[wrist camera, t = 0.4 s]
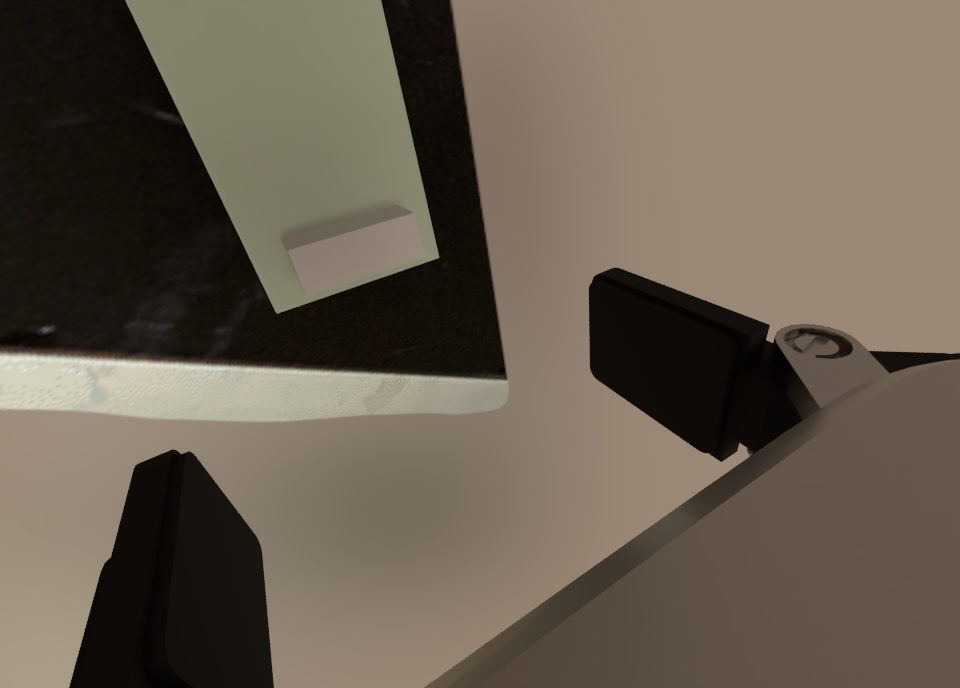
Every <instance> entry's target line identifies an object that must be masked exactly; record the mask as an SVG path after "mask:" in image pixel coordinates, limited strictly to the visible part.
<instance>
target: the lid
mask: <svg viewBox="0 0 960 688" xmlns="http://www.w3.org/2000/svg"><path fill="white" fill-rule="evenodd" d="M125 1H126V3H127V5H128V7H129V9H130V11H131V13H132V15H133V17H134V19H135V21H136V24H137V26H138V28H139V30H140V32H141V34H142V36H143V38H144V40H145V42H146V44H147V46H148V48H149V50H150V53H151V55H152V57H153V59H154V61H155V63H156V65H157V67H158V69H159V71H160V73H161V75H162V77H163V79H164V82H165V84H166V86H167V88H168V90H169V92H170V94H171V96H172V98H173V100H174V102H175V104H176V106H177V108H178V111H179V113H180V115H181V117H182V119H183V121H184V123H185V125H186V127H187V129H188V131H189V133H190V135H191V137H192V140H193V142H194V144H195V146H196V148H197V150H198V152H199V154H200V156H201V158H202V160H203V162H204V164H205V167H206V169H207V171H208V173H209V175H210V177H211V179H212V181H213V183H214V185H215V187H216V189H217V191H218V193H219V196H220V198H221V200H222V202H223V204H224V206H225V208H226V210H227V212H228V214H229V216H230V218H231V220H232V222H233V225H234V227H235V229H236V231H237V233H238V235H239V237H240V239H241V241H242V243H243V245H244V247H245V249H246V251H247V254H248V256H249V258H250V260H251V262H252V264H253V266H254V268H255V270H256V272H257V274H258V276H259V278H260V280H261V283H262V285H263V287H264V289H265V291H266V293H267V295H268V297H269V299H270V301H271V303H272V305H273V307H274V309H275V312H276V314H277V313H280V312H283V311H286V310H289V309H292V308H295V307H298V306H301V305H304V304H306V303H309V302H312V301H315V300H318V299H321V298H324V297H327V296H330V295H333V294H335V293H338V292H341V291H344V290H347V289H350V288H353V287H356V286H359V285H362V284H364V283H367V282H370V281H373V280H376V279H379V278H382V277H385V276H388V275H391V274H394V273H396V272H399V271H402V270H405V269H408V268H411V267H414V266H417V265H420V264H423V263H425V262H428V261H431V260H434V259H437V258H439V254H438V250H437V246H436V241H435V237H434V232H433V228H432V224H431V219H430V215H429V210H428V206H427V201H426V197H425V193H424V188H423V184H422V179H421V175H420V171H419V166H418V162H417V157H416V153H415V149H414V144H413V140H412V135H411V131H410V126H409V122H408V118H407V113H406V109H405V104H404V100H403V96H402V91H401V87H400V82H399V78H398V73H397V69H396V65H395V60H394V56H393V51H392V47H391V43H390V38H389V34H388V29H387V25H386V20H385V16H384V12H383V7H382V3H381V0H125Z"/></svg>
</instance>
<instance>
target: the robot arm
mask: <svg viewBox="0 0 960 688" xmlns="http://www.w3.org/2000/svg"><path fill="white" fill-rule="evenodd" d="M589 322H590V323H589V327H590V328H589V331H590V369H591V372H592V374H593V376H594V377H595V378H596V379H597V380H598V381H600V382H602V383H603V384H604V385H606V386H607V387H609V388H610V389H611V390H613V391H614V392H616V393H617V394H619V395H620V396H621V397H623V398H624V399H626V400H627V401H629V402H630V403H631V404H633V405H634V406H636V407H637V408H639V409H640V410H641V411H643V412H644V413H646V414H647V415H649V416H650V417H651V418H653V419H654V420H656V421H657V422H659V423H660V424H662V425H663V426H664V427H666V428H667V429H669V430H670V431H672V432H673V433H674V434H676V435H677V436H679V437H680V438H682V439H683V440H684V441H686V442H687V443H689V444H690V445H692V446H693V447H694V448H696V449H697V450H699V451H701V452H703V453H709V454H710V455H712V456H713V457H715V458H716V459H718V460H719V461H721V462H722V461H724V460H725V459H727V458H728V457H729V456H731V455H732V454H734V453H735V452H737V449H738V446H739V443H741V444H742V445H744V446H746V447H747V451H748V454H749V456H750V457H749V458H747V459H746V460H745V461H743V462H742V463H740V464H739V465H737V466H736V467H735V468H734V469H732V470H730V471H729V472H728V473H726V474H725V475H723V476H722V477H720V478H719V479H717V480H716V481H715V482H713V483H712V484H710V485H709V486H707V487H706V488H704V489H703V490H702V491H700V492H699V493H698V494H696V495H695V496H693V497H692V498H690V499H689V500H688V501H686V502H685V503H683V504H682V505H680V506H679V507H678V508H676V509H675V510H673V511H672V512H670V513H669V514H668V515H666V516H665V517H663V518H662V519H660V520H659V521H658V522H657V523H655V524H654V525H652V526H651V527H649V528H648V529H646V530H645V531H643V532H642V533H641V534H639V535H638V536H637V537H635V538H634V539H632V540H631V541H629V542H628V543H627V544H625V545H624V546H622V547H621V548H620V549H618V550H617V551H615V552H614V553H613V554H611V555H610V556H608V557H607V558H605V559H604V560H603V561H601V562H600V563H598V564H597V565H595V566H594V567H593V568H591V569H590V570H588V571H587V572H586V573H584V574H583V575H581V576H580V577H578V578H577V579H576V580H574V581H573V582H572V583H570V584H569V585H567V586H566V587H564V588H563V589H562V590H560V591H559V592H557V593H556V594H555V595H553V596H552V597H550V598H549V599H548V600H546V601H545V602H543V603H542V604H541V605H539V606H538V607H536V608H535V609H534V610H532V611H531V612H529V613H528V614H527V615H525V616H524V617H522V618H521V619H520V620H518V621H517V622H515V623H514V624H513V625H511V626H510V627H508V628H507V629H506V630H504V631H503V632H501V633H500V634H499V635H497V636H496V637H494V638H493V639H492V640H490V641H489V642H487V643H486V644H485V645H483V646H482V647H481V648H479V649H478V650H476V651H475V652H473V653H472V654H471V655H469V656H468V657H466V658H465V659H464V660H462V661H461V662H460V663H458V664H457V665H455V666H454V667H452V668H451V669H450V670H448V671H447V672H445V673H444V674H443V675H441V676H440V677H439V678H437V679H436V680H434V681H433V682H431V683H430V684H429V685H427V686H426V687H425V688H960V353H958V354H957V353H955V354H946V353H917V352H914V353H913V352H882V351H880V352H879V351H868V350H867V349H866V348H865V347H864V346H863V345H862V344H861V343H860V342H859V341H857V340H856V339H855V338H853V337H852V336H851V335H848V334H846V333H844V332H842V331H840V330H836V329H833V328H830V327H825V326H819V325H810V324H799V325H790V326H788V327H784V328H782V329H781V330H779V331H778V332H777V333H776V335H775V338H774V342H773V343H771V342H769V341H767V340H766V337H767V334H768V329H769V326H770V325H768V324H766V323H763V322H760V321H758V320H755V319H752V318H750V317H747V316H744V315H742V314H739V313H737V312H734V311H731V310H729V309H726V308H723V307H721V306H718V305H715V304H712V303H710V302H707V301H705V300H702V299H699V298H697V297H694V296H691V295H689V294H686V293H684V292H681V291H678V290H676V289H673V288H670V287H667V286H665V285H662V284H660V283H657V282H654V281H652V280H649V279H646V278H644V277H641V276H638V275H636V274H633V273H631V272H628V271H625V270H622V269H620V268H612V269H609V270H607V271H604V272H602V273H600V274H597V275H596V276H595V277H594V278H593V281H592V283H591V284H590V286H589ZM69 688H274V685H273V673H272V663H271V651H270V639H269V628H268V617H267V604H266V593H265V581H264V571H263V558H262V551H261V546H260V543H259V541H258V539H257V537H256V535H255V534H254V533H253V531H252V530H251V529H250V527H249V526H248V525H247V523H246V522H245V521H244V519H243V518H242V517H241V515H240V514H239V513H238V511H237V510H236V509H235V508H234V506H233V505H232V504H231V502H230V501H229V500H228V499H227V497H226V496H225V494H224V493H223V492H222V490H221V489H220V488H219V487H218V485H217V484H216V483H215V481H214V480H213V479H212V477H211V476H210V475H209V473H208V472H207V471H206V469H205V468H204V467H203V465H202V464H201V463H200V462H199V460H198V459H197V458H196V456H195V455H194V454H193V453H191V452H186V453H184V454H180V453H179V452H178V451H176V450H170V451H168V452H166V453H163V454H161V455H158V456H156V457H153V458H151V459H149V460H146V461H144V462H141V463H139V464H137V465H136V466H135V468H134V471H133V475H132V478H131V482H130V486H129V490H128V494H127V498H126V502H125V505H124V509H123V513H122V518H121V521H120V525H119V529H118V533H117V536H116V540H115V544H114V548H113V552H112V556H111V558H110V559H109V560H108V561H107V562H106V563H105V564H104V566H103V568H102V571H101V573H100V577H99V581H98V584H97V588H96V592H95V595H94V599H93V603H92V607H91V610H90V614H89V617H88V621H87V625H86V628H85V632H84V636H83V639H82V643H81V647H80V650H79V654H78V658H77V661H76V665H75V669H74V672H73V676H72V680H71V683H70V687H69Z"/></svg>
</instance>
